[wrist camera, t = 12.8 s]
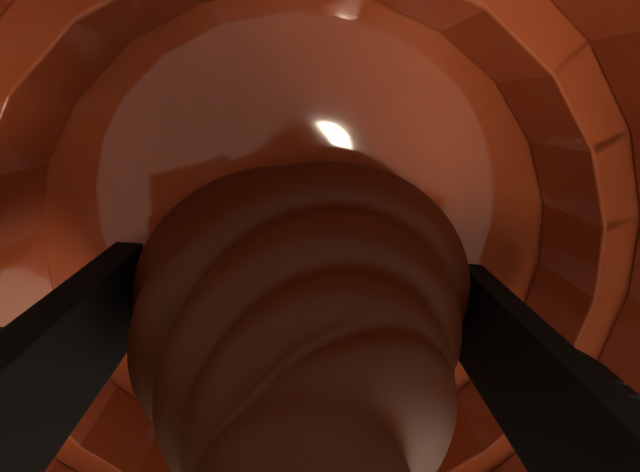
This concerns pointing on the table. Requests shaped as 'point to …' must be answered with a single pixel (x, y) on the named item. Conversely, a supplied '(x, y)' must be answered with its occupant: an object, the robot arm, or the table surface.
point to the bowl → (330, 152)
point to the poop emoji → (300, 323)
